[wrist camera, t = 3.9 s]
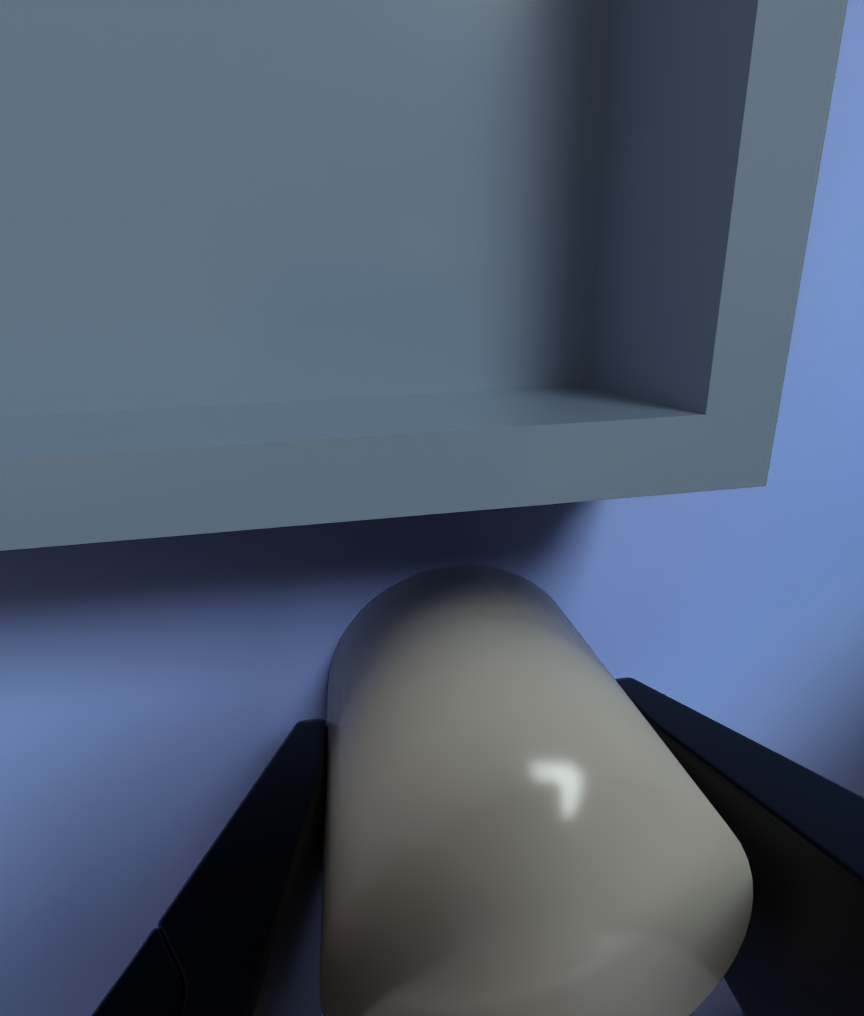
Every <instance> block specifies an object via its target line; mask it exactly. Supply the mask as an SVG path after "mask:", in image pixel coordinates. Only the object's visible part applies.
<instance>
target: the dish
mask: <svg viewBox="0 0 864 1016" xmlns="http://www.w3.org/2000/svg"><path fill="white" fill-rule="evenodd" d="M847 2H848V0H0V551H4V550H16V549H28V548H40V547H52V546H63V545H75V544H87V543H99V542H111V541H122V540H134V539H146V538H158V537H170V536H181V535H193V534H205V533H217V532H229V531H241V530H252V529H264V528H276V527H288V526H300V525H311V524H323V523H335V522H347V521H359V520H370V519H382V518H394V517H406V516H418V515H429V514H441V513H453V512H465V511H477V510H488V509H500V508H512V507H524V506H536V505H547V504H559V503H571V502H583V501H595V500H606V499H618V498H630V497H642V496H654V495H665V494H677V493H689V492H701V491H713V490H724V489H736V488H748V487H760V486H766V482H767V476H768V470H769V464H770V458H771V452H772V446H773V440H774V435H775V429H776V423H777V417H778V411H779V405H780V399H781V393H782V387H783V381H784V375H785V369H786V363H787V358H788V352H789V346H790V340H791V334H792V328H793V322H794V316H795V310H796V304H797V298H798V292H799V286H800V280H801V275H802V269H803V263H804V257H805V251H806V245H807V239H808V233H809V227H810V221H811V215H812V209H813V203H814V198H815V192H816V186H817V180H818V174H819V168H820V162H821V156H822V150H823V144H824V138H825V132H826V126H827V120H828V115H829V109H830V103H831V97H832V91H833V85H834V79H835V73H836V67H837V61H838V55H839V49H840V43H841V38H842V32H843V26H844V20H845V14H846V8H847Z"/></svg>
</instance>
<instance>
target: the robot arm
mask: <svg viewBox="0 0 864 1016" xmlns="http://www.w3.org/2000/svg"><path fill="white" fill-rule="evenodd" d="M615 680H616V681H617V683H618V684H619V685H620V687H621V688H622V689H623V690H624V692H625V693H626V694H627V696H628V697H629V698H630V699H631V701H632V702H633V703H634V705H635V706H636V707H637V709H638V710H639V711H640V712H641V714H642V715H643V716H644V718H645V719H646V720H647V721H648V723H649V724H650V725H651V727H652V728H653V729H654V731H655V732H656V733H657V734H658V736H659V737H660V738H661V740H662V741H663V742H664V743H665V745H666V746H667V747H668V749H669V750H670V751H671V753H672V754H673V755H674V756H675V758H676V759H677V760H678V762H679V763H680V764H681V765H682V767H683V768H684V769H685V771H686V772H687V773H688V775H689V776H690V777H691V778H692V780H693V781H694V782H695V784H696V785H697V786H698V787H699V789H700V790H701V791H702V793H703V794H704V795H705V797H706V798H707V799H708V800H709V802H710V803H711V804H712V806H713V807H714V808H715V810H716V811H717V812H718V813H719V815H720V816H721V817H722V819H723V820H724V821H725V822H726V824H727V825H728V826H729V828H730V829H731V830H732V832H733V833H734V835H735V836H736V837H737V839H738V840H739V842H740V843H741V845H742V848H743V850H744V852H745V854H746V856H747V859H748V861H749V866H750V870H751V874H752V880H753V903H752V911H751V918H750V921H749V924H748V928H747V931H746V935H745V938H744V940H743V942H742V944H741V947H740V949H739V951H738V953H737V955H736V957H735V959H734V961H733V962H732V964H731V966H730V967H729V969H728V971H727V972H726V974H725V975H724V979H725V980H726V982H727V984H728V986H729V988H730V990H731V991H732V993H733V995H734V997H735V999H736V1000H737V1002H738V1004H739V1006H740V1008H741V1010H742V1011H743V1013H744V1015H745V1016H864V798H863V797H861V796H859V795H857V794H855V793H853V792H851V791H849V790H847V789H846V788H844V787H842V786H840V785H838V784H836V783H834V782H832V781H830V780H828V779H826V778H824V777H822V776H820V775H818V774H817V773H815V772H813V771H811V770H809V769H807V768H805V767H803V766H801V765H799V764H797V763H795V762H793V761H791V760H789V759H788V758H786V757H784V756H782V755H780V754H778V753H776V752H774V751H772V750H770V749H768V748H766V747H764V746H762V745H760V744H759V743H757V742H755V741H753V740H751V739H749V738H747V737H745V736H743V735H741V734H739V733H737V732H735V731H733V730H731V729H730V728H728V727H726V726H724V725H722V724H720V723H718V722H716V721H714V720H712V719H710V718H708V717H706V716H704V715H703V714H701V713H699V712H697V711H695V710H693V709H691V708H689V707H687V706H685V705H683V704H681V703H679V702H677V701H675V700H674V699H672V698H670V697H668V696H666V695H664V694H662V693H660V692H658V691H656V690H654V689H652V688H650V687H648V686H646V685H645V684H643V683H641V682H639V681H637V680H635V679H633V678H619V679H615ZM326 748H327V724H326V721H325V720H324V719H323V718H320V719H312V720H304V721H300V722H298V723H297V724H296V725H295V726H294V728H293V729H292V731H291V732H290V734H289V735H288V736H287V738H286V739H285V741H284V742H283V744H282V745H281V747H280V748H279V749H278V751H277V752H276V754H275V755H274V757H273V758H272V759H271V761H270V762H269V764H268V765H267V767H266V768H265V770H264V771H263V772H262V774H261V775H260V777H259V778H258V780H257V781H256V783H255V784H254V785H253V787H252V788H251V790H250V791H249V793H248V794H247V795H246V797H245V798H244V800H243V801H242V803H241V804H240V806H239V807H238V808H237V810H236V811H235V813H234V814H233V816H232V817H231V818H230V820H229V821H228V823H227V824H226V826H225V827H224V829H223V830H222V831H221V833H220V834H219V836H218V837H217V839H216V840H215V842H214V843H213V844H212V846H211V847H210V849H209V850H208V852H207V853H206V854H205V856H204V857H203V859H202V860H201V862H200V863H199V865H198V866H197V867H196V869H195V870H194V872H193V873H192V875H191V876H190V877H189V879H188V880H187V882H186V883H185V885H184V886H183V888H182V889H181V890H180V892H179V893H178V895H177V896H176V898H175V899H174V901H173V902H172V903H171V905H170V906H169V908H168V909H167V911H166V912H165V913H164V915H163V916H162V918H161V919H160V921H159V922H158V928H155V929H153V930H152V932H151V933H150V935H149V936H148V937H147V939H146V940H145V942H144V943H143V945H142V946H141V948H140V949H139V950H138V952H137V953H136V955H135V956H134V958H133V959H132V960H131V962H130V963H129V965H128V966H127V967H126V969H125V970H124V971H123V973H122V974H121V976H120V977H119V978H118V980H117V981H116V982H115V984H114V985H113V987H112V988H111V989H110V991H109V992H108V993H107V995H106V996H105V998H104V999H103V1000H102V1002H101V1003H100V1004H99V1006H98V1007H97V1009H96V1010H95V1011H94V1013H93V1014H92V1015H91V1016H322V1009H321V1003H320V951H321V916H322V881H323V846H324V811H325V784H326Z"/></svg>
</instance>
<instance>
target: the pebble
mask: <svg viewBox="0 0 864 1016" xmlns="http://www.w3.org/2000/svg"><path fill="white" fill-rule="evenodd" d="M752 903H753V880H752V874H751V870H750V866H749V861H748V859H747V856H746V854H745V852H744V850H743V848H742V845H741V843H740V842H739V840H738V839H737V837H736V836H735V835H734V833H733V832H732V830H731V829H730V828H729V826H728V825H727V824H726V822H725V821H724V820H723V819H722V817H721V816H720V815H719V813H718V812H717V811H716V810H715V808H714V807H713V806H712V804H711V803H710V802H709V800H708V799H707V798H706V797H705V795H704V794H703V793H702V791H701V790H700V789H699V787H698V786H697V785H696V784H695V782H694V781H693V780H692V778H691V777H690V776H689V775H688V773H687V772H686V771H685V769H684V768H683V767H682V765H681V764H680V763H679V762H678V760H677V759H676V758H675V756H674V755H673V754H672V753H671V751H670V750H669V749H668V747H667V746H666V745H665V743H664V742H663V741H662V740H661V738H660V737H659V736H658V734H657V733H656V732H655V731H654V729H653V728H652V727H651V725H650V724H649V723H648V721H647V720H646V719H645V718H644V716H643V715H642V714H641V712H640V711H639V710H638V709H637V707H636V706H635V705H634V703H633V702H632V701H631V699H630V698H629V697H628V696H627V694H626V693H625V692H624V690H623V689H622V688H621V687H620V685H619V684H618V683H617V681H616V680H615V679H614V677H613V676H612V675H611V674H610V672H609V671H608V670H607V668H606V667H605V666H604V664H603V663H602V662H601V661H600V659H599V658H598V657H597V655H596V654H595V653H594V652H593V650H592V649H591V648H590V646H589V645H588V644H587V642H586V641H585V640H584V639H583V637H582V636H581V635H580V633H579V632H578V631H577V630H576V628H575V627H574V626H573V624H572V623H571V622H570V620H569V619H568V618H567V617H566V615H565V614H564V613H563V611H562V610H561V609H560V608H559V606H558V605H557V604H556V602H555V601H554V600H553V599H552V598H551V597H550V596H549V595H548V594H547V593H546V592H545V591H543V590H542V589H541V588H539V587H538V586H536V585H535V584H534V583H532V582H530V581H528V580H526V579H525V578H523V577H521V576H519V575H516V574H513V573H511V572H508V571H505V570H501V569H496V568H492V567H485V566H474V565H465V566H450V567H444V568H438V569H434V570H430V571H427V572H423V573H420V574H417V575H415V576H412V577H410V578H407V579H405V580H403V581H401V582H399V583H397V584H396V585H394V586H392V587H390V588H388V589H387V590H385V591H384V592H383V593H381V594H380V595H379V596H377V597H376V598H374V599H373V600H372V601H371V602H370V603H369V604H368V605H367V606H366V607H364V608H363V609H362V610H361V611H360V612H359V614H358V615H357V616H356V617H355V618H354V620H353V621H352V622H351V623H350V625H349V626H348V628H347V629H346V631H345V632H344V634H343V636H342V637H341V639H340V641H339V643H338V646H337V648H336V650H335V652H334V656H333V659H332V663H331V666H330V672H329V680H328V706H327V748H326V784H325V811H324V846H323V881H322V916H321V951H320V1003H321V1009H322V1012H323V1016H689V1015H690V1014H692V1013H693V1012H694V1011H695V1010H696V1009H697V1008H698V1007H699V1006H700V1004H701V1003H702V1002H703V1001H704V1000H705V999H706V998H707V997H708V996H709V995H710V994H711V992H712V991H713V990H714V989H715V987H716V986H717V985H718V983H719V982H720V981H721V979H722V978H723V977H724V975H725V974H726V972H727V971H728V969H729V967H730V966H731V964H732V962H733V961H734V959H735V957H736V955H737V953H738V951H739V949H740V947H741V944H742V942H743V940H744V938H745V935H746V931H747V928H748V924H749V921H750V918H751V911H752Z"/></svg>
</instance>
